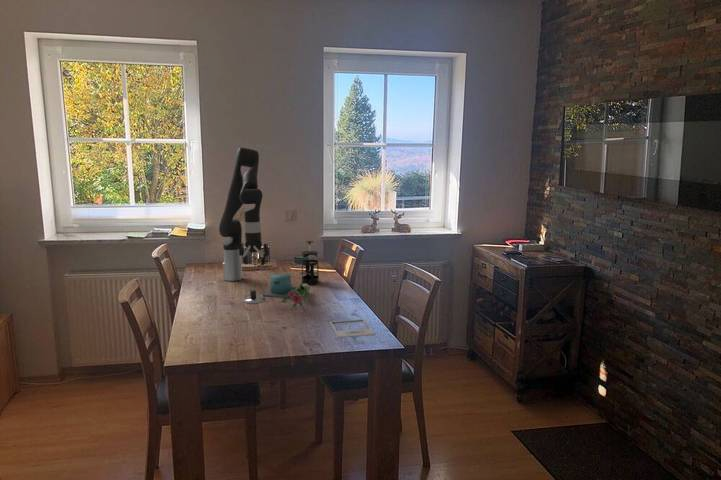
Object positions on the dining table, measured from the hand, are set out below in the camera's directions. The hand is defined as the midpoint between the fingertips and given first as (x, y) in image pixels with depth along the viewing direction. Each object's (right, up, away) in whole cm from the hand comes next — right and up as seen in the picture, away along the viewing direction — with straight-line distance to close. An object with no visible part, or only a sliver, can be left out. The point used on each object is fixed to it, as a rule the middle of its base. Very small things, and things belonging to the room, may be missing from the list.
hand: (254, 264), depth 261 cm
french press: (+24, -12, +32) cm, 42 cm away
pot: (+11, -15, +13) cm, 22 cm away
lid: (-1, -18, +1) cm, 18 cm away
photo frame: (+47, -25, -39) cm, 66 cm away
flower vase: (+23, -18, -3) cm, 29 cm away
